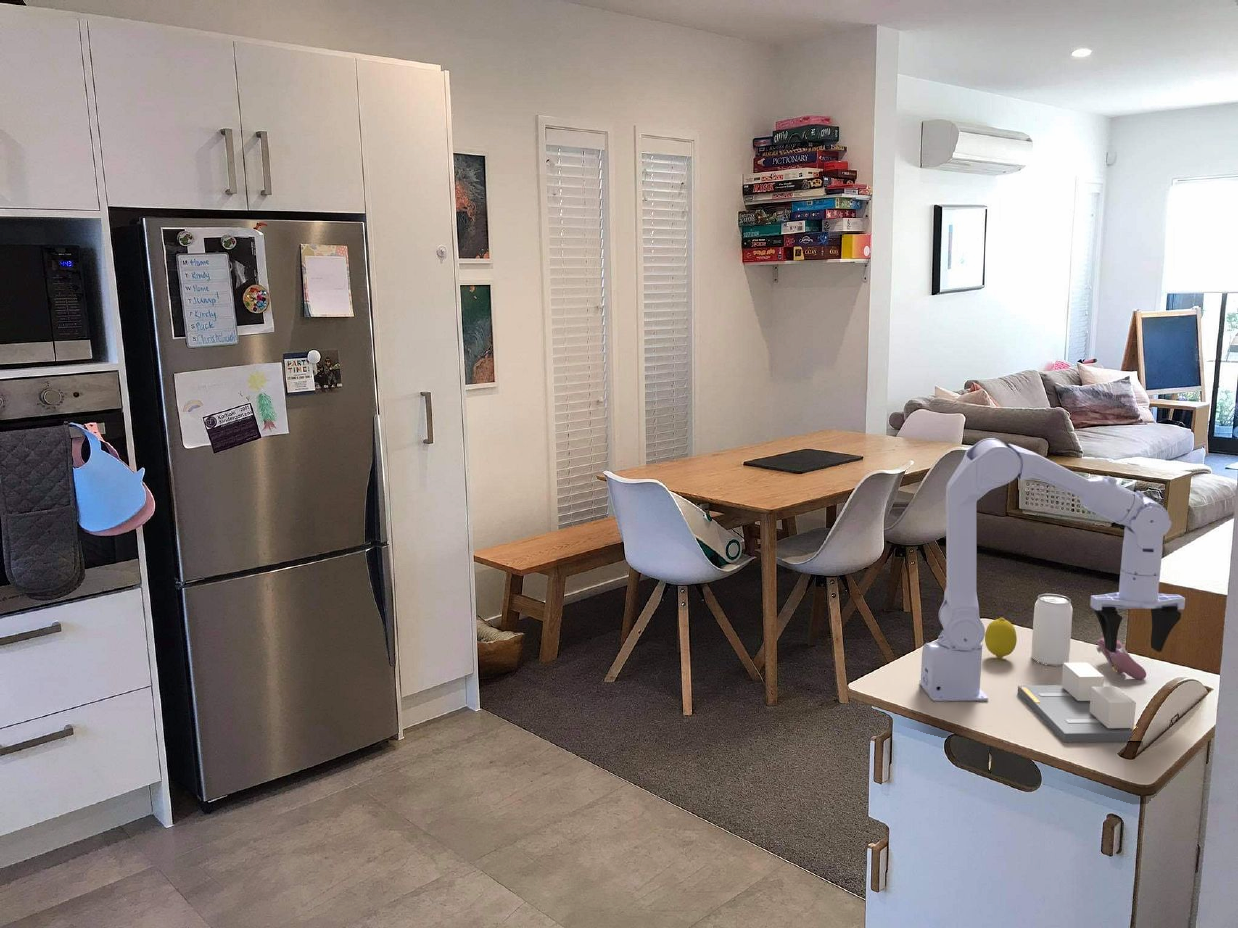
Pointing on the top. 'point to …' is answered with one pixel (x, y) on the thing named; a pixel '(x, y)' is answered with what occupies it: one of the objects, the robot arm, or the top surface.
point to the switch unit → (1069, 715)
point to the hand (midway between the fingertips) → (1133, 649)
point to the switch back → (1080, 680)
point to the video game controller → (1121, 660)
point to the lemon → (1000, 637)
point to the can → (1052, 629)
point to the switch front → (1112, 707)
